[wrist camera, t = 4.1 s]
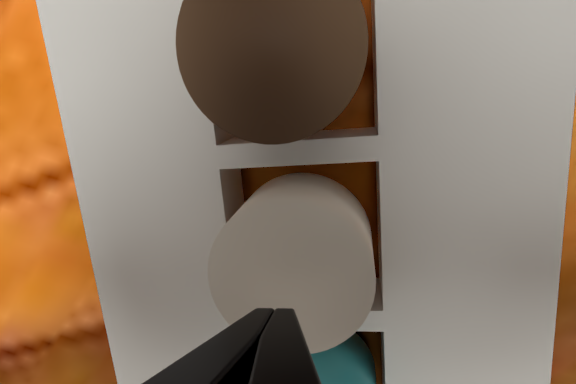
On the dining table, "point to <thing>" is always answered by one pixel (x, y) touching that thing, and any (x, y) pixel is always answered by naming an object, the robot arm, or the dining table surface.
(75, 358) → the dining table surface
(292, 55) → the key walnut
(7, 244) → the dining table surface
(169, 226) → the keypad
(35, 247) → the dining table surface
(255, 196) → the key ivory
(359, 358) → the key teal
